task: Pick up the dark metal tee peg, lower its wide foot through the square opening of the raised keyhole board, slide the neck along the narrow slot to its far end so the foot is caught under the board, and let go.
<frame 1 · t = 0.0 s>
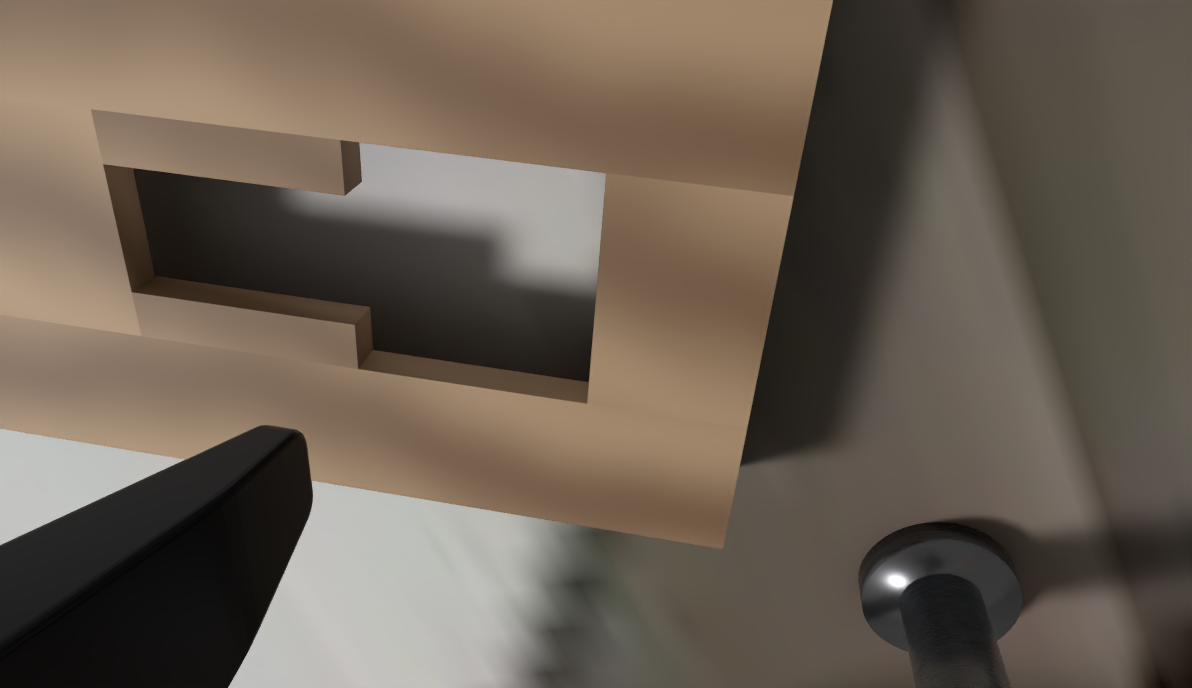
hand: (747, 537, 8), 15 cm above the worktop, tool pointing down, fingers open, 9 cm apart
keyhole board: (366, 207, 23), on the worktop
tee peg: (934, 579, 27), on the worktop
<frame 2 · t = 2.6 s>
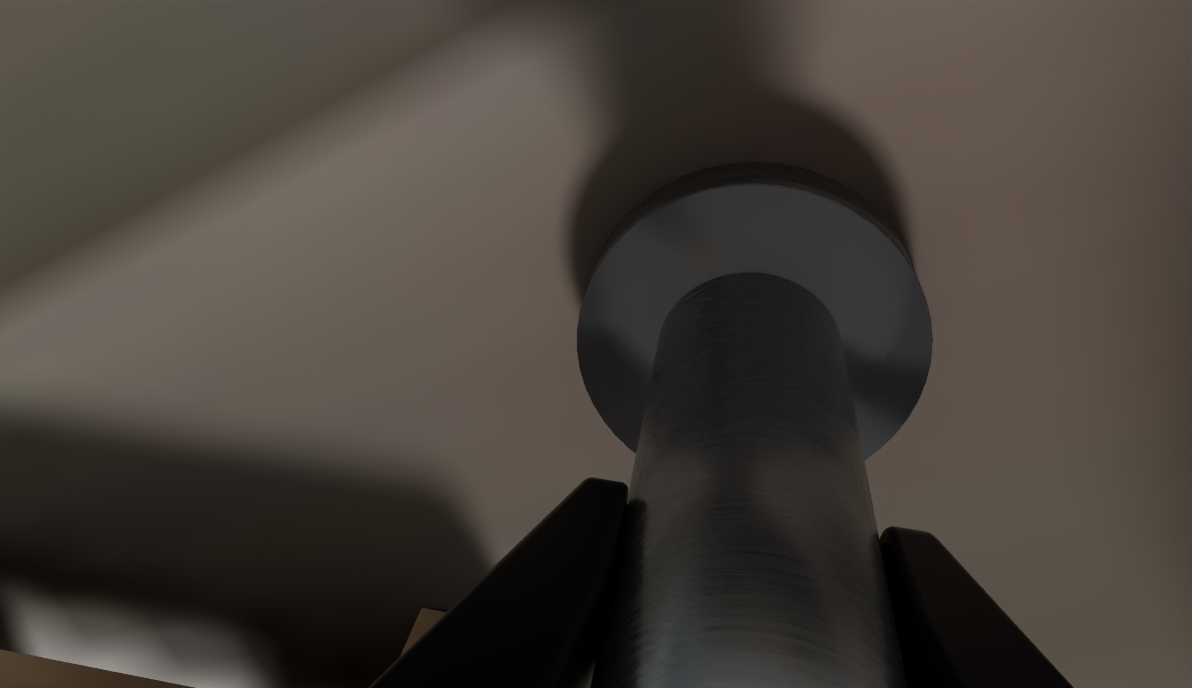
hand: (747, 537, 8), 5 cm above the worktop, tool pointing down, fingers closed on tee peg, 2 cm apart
tee peg: (748, 320, 12), on the worktop, touching gripper
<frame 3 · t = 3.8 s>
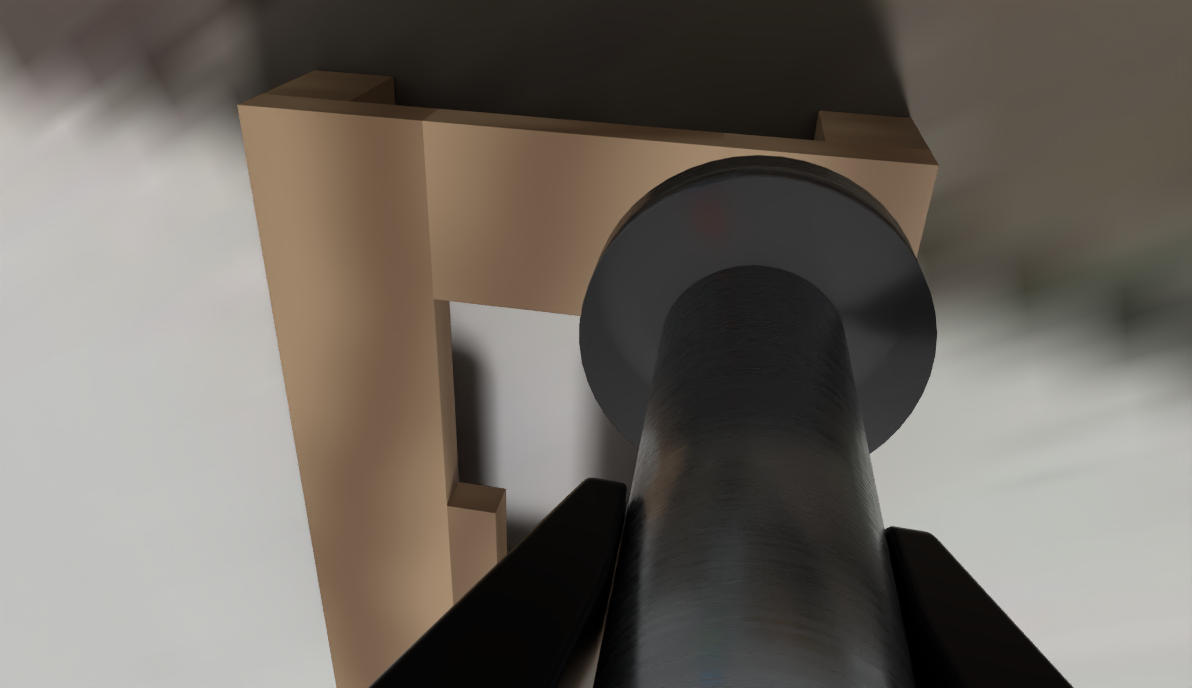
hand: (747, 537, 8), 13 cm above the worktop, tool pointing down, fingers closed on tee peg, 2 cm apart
keyhole board: (584, 470, 25), on the worktop
tee peg: (751, 314, 12), point 9 cm above the worktop, touching gripper
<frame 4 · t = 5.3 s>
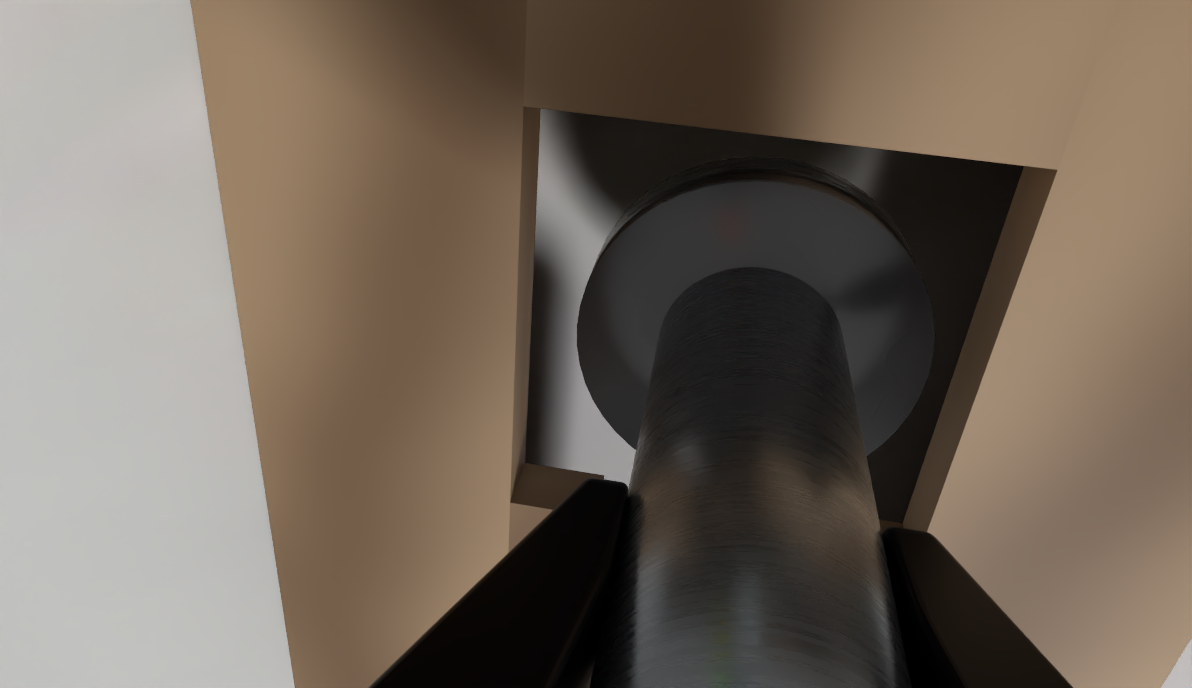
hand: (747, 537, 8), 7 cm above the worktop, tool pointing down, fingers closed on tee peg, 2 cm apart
keyhole board: (707, 449, 16), on the worktop
tee peg: (749, 316, 12), point 2 cm above the worktop, touching gripper
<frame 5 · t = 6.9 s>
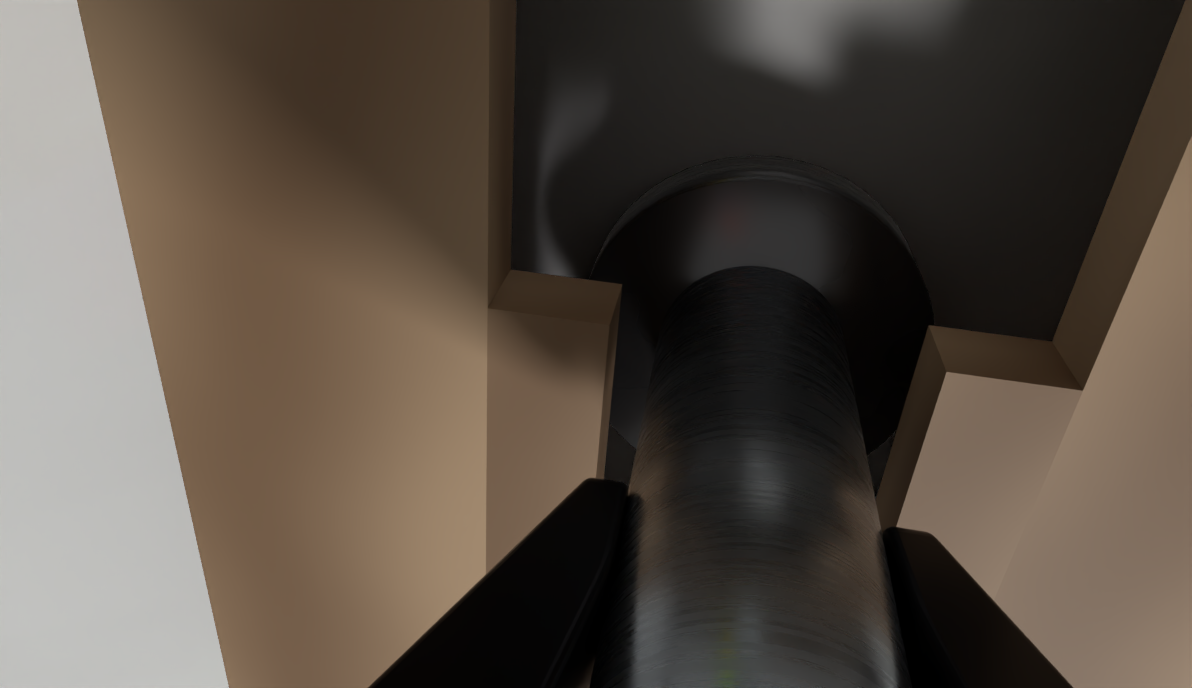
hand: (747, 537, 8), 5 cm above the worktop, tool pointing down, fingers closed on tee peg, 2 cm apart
keyhole board: (756, 288, 12), on the worktop
tee peg: (749, 314, 12), on the worktop, touching gripper
when the fingers open (5 cm above the worktop, at t = 8.1 s): tee peg stays where it is, on the worktop.
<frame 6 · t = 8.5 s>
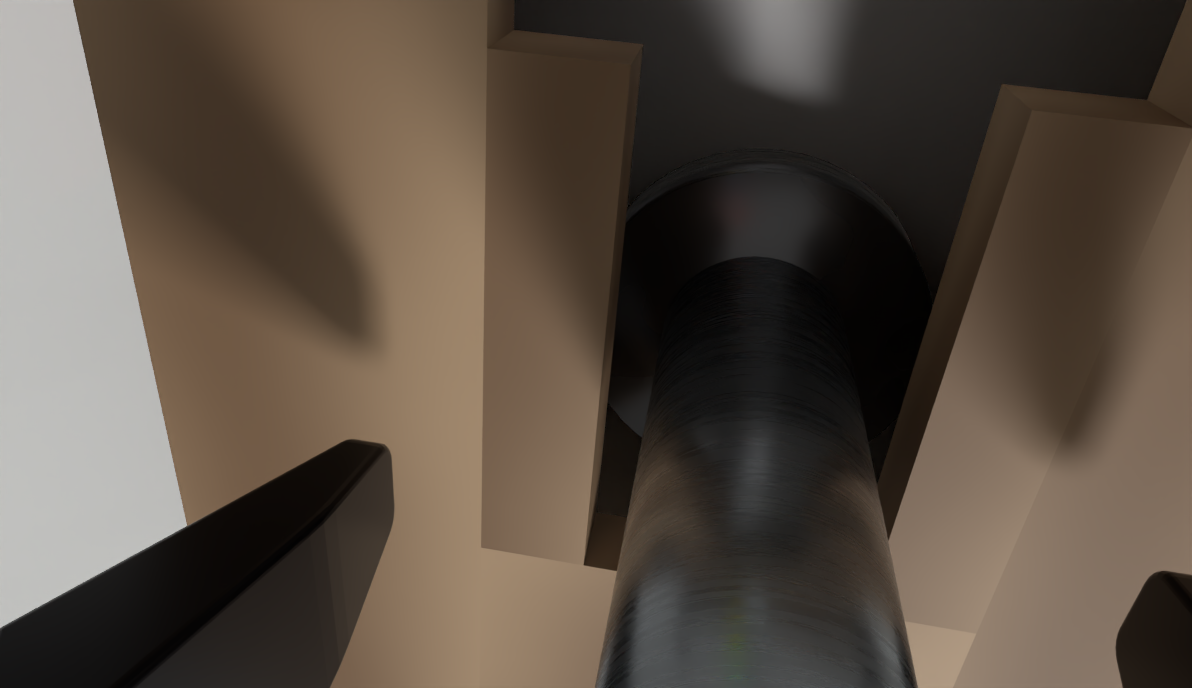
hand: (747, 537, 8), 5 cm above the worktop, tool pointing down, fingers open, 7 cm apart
keyhole board: (789, 105, 11), on the worktop
tee peg: (752, 305, 12), on the worktop
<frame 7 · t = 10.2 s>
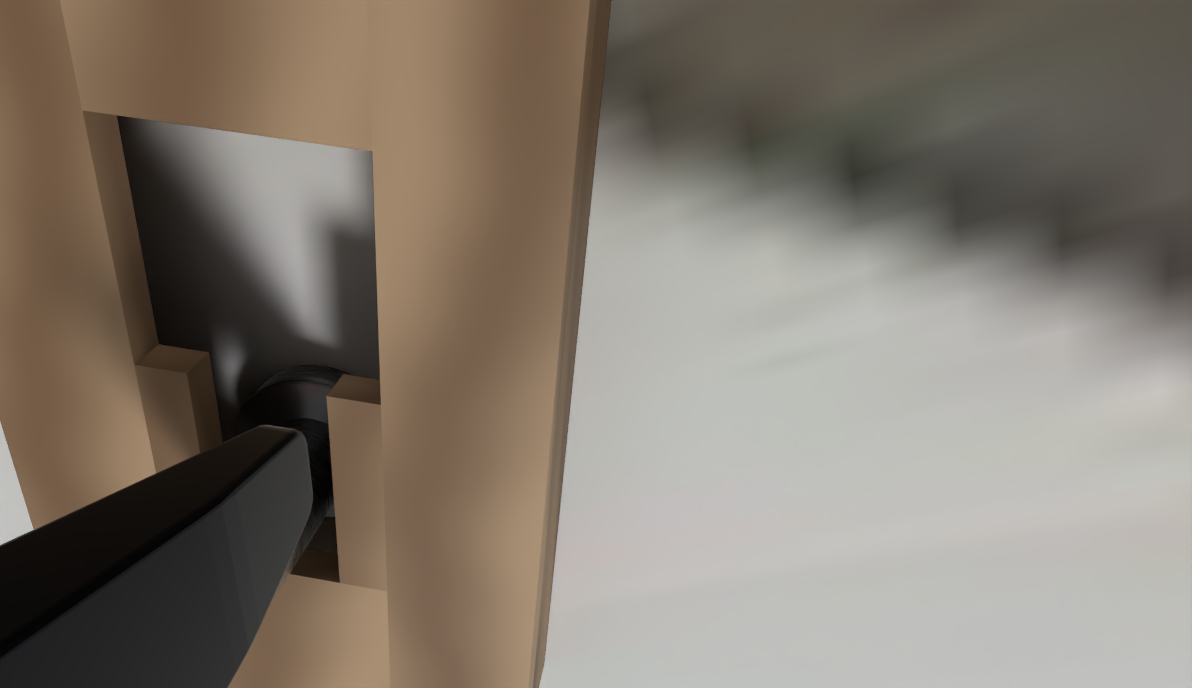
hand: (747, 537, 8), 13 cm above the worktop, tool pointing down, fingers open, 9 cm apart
keyhole board: (321, 348, 23), on the worktop
tee peg: (328, 433, 25), on the worktop
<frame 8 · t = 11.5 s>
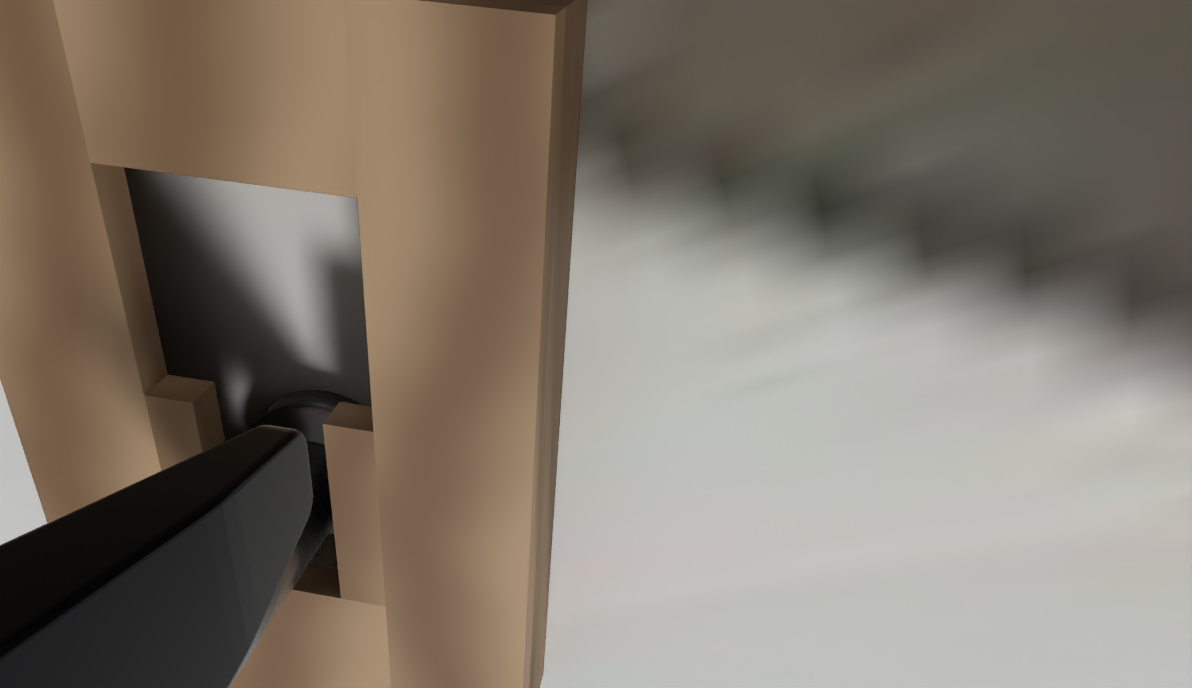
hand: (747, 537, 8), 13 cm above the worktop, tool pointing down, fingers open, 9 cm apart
keyhole board: (322, 374, 24), on the worktop
tee peg: (331, 454, 26), on the worktop
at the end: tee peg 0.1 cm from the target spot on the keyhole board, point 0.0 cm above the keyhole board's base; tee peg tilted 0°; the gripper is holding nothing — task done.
